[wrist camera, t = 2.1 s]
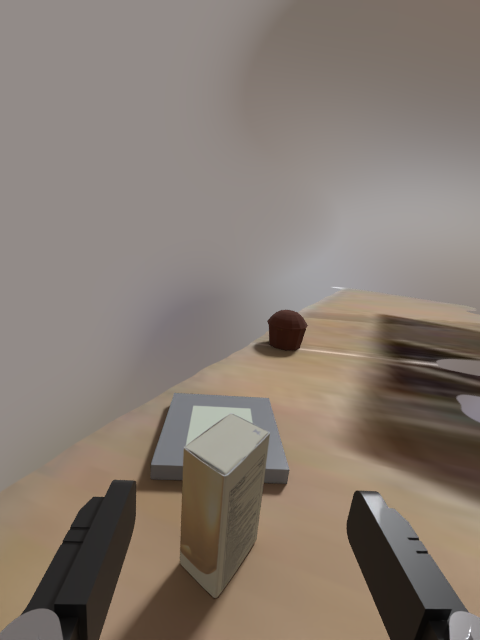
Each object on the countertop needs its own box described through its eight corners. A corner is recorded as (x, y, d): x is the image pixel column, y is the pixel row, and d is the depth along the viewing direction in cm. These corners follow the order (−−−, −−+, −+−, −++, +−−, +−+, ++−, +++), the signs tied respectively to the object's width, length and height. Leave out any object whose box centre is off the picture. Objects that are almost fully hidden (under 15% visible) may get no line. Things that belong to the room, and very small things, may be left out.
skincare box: (222, 513, 30) (232, 409, 26) (258, 540, 27) (273, 430, 24) (175, 566, 24) (180, 444, 21) (213, 605, 22) (226, 474, 19)
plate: (267, 408, 50) (268, 398, 49) (287, 483, 34) (289, 469, 34) (173, 403, 48) (174, 393, 48) (150, 479, 33) (150, 464, 32)
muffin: (299, 355, 76) (305, 319, 73) (260, 346, 79) (264, 312, 77) (306, 342, 87) (311, 310, 84) (271, 335, 90) (274, 304, 88)
